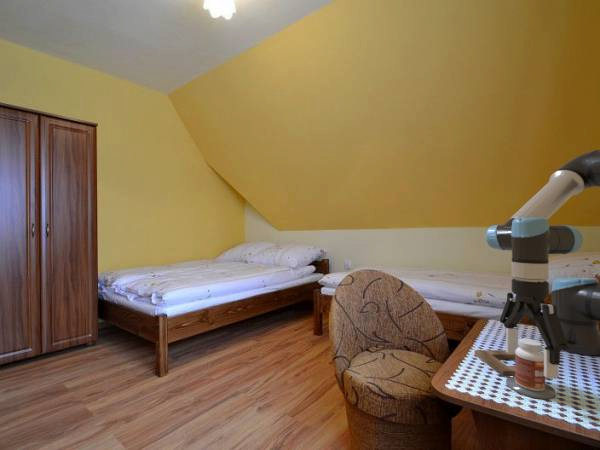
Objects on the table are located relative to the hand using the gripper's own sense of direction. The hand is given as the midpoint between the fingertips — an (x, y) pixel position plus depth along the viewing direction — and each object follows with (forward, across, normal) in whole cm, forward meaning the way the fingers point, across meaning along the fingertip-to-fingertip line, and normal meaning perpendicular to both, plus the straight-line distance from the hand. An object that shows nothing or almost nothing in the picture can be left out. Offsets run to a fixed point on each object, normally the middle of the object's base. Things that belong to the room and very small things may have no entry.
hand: (529, 363), depth 78 cm
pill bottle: (+6, 0, 0) cm, 6 cm away
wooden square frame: (+6, +13, -4) cm, 15 cm away
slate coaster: (+6, 0, 0) cm, 6 cm away
